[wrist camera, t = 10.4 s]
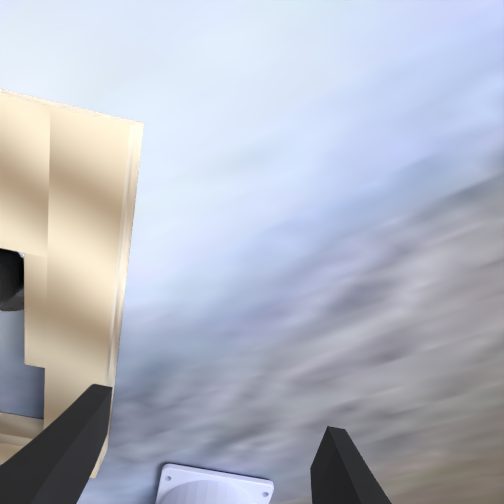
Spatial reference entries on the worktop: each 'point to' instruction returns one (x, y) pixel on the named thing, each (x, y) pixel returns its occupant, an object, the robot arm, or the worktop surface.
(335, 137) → the worktop surface
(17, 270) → the peg
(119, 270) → the keyhole board
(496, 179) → the worktop surface
